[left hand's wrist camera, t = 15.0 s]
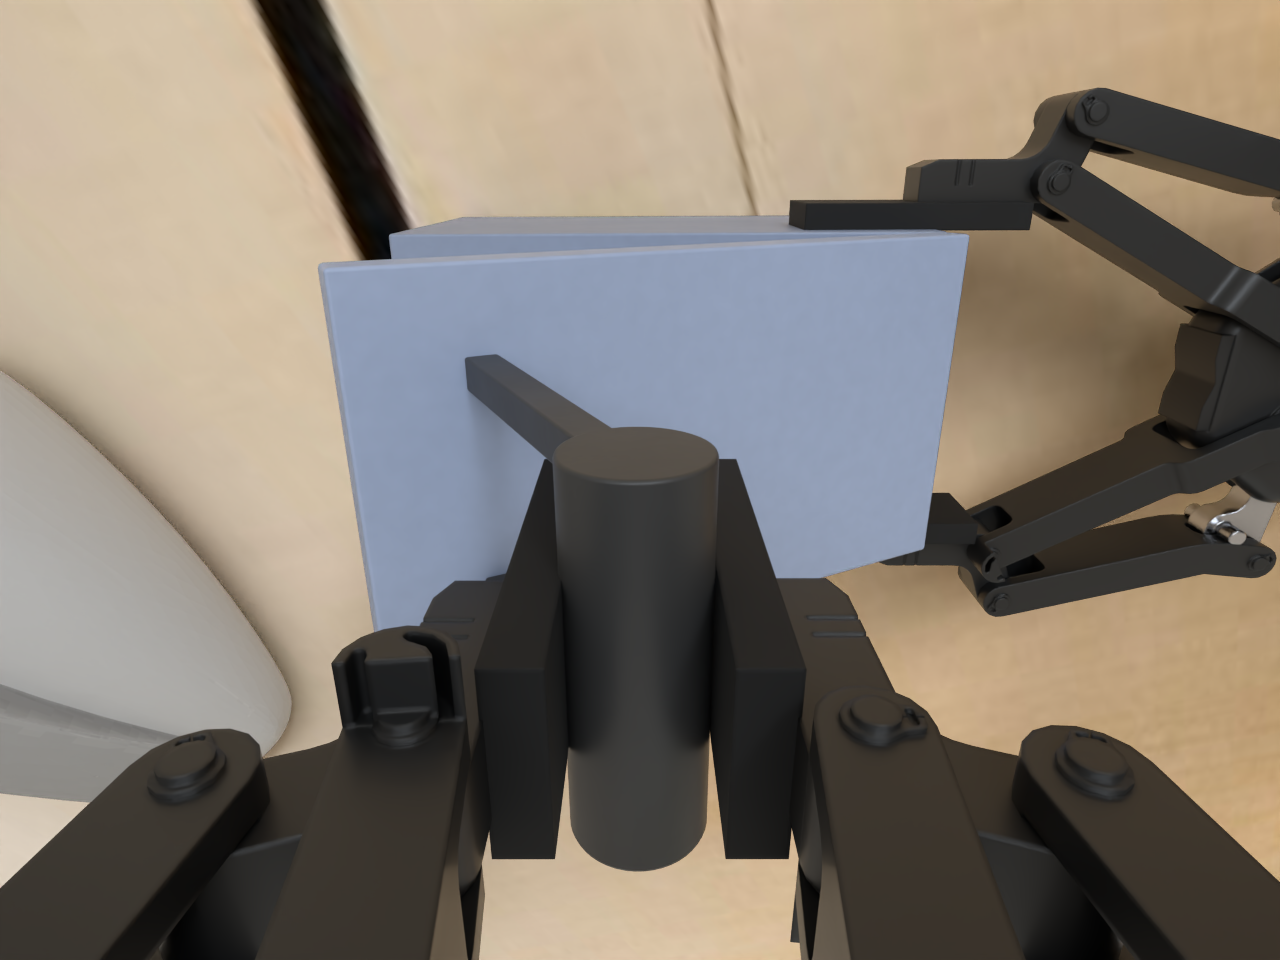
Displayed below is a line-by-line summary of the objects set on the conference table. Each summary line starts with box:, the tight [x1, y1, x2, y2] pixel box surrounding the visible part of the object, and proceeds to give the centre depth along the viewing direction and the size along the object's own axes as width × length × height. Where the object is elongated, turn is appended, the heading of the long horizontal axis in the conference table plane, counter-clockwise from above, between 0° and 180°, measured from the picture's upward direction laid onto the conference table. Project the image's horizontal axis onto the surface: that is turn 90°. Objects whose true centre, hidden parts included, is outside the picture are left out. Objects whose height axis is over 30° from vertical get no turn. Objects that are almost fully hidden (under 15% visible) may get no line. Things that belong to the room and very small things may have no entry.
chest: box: [389, 216, 945, 259], centre depth 28 cm, size 16×9×9 cm, turn 90°
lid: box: [318, 232, 969, 871], centre depth 16 cm, size 16×9×9 cm, turn 93°
